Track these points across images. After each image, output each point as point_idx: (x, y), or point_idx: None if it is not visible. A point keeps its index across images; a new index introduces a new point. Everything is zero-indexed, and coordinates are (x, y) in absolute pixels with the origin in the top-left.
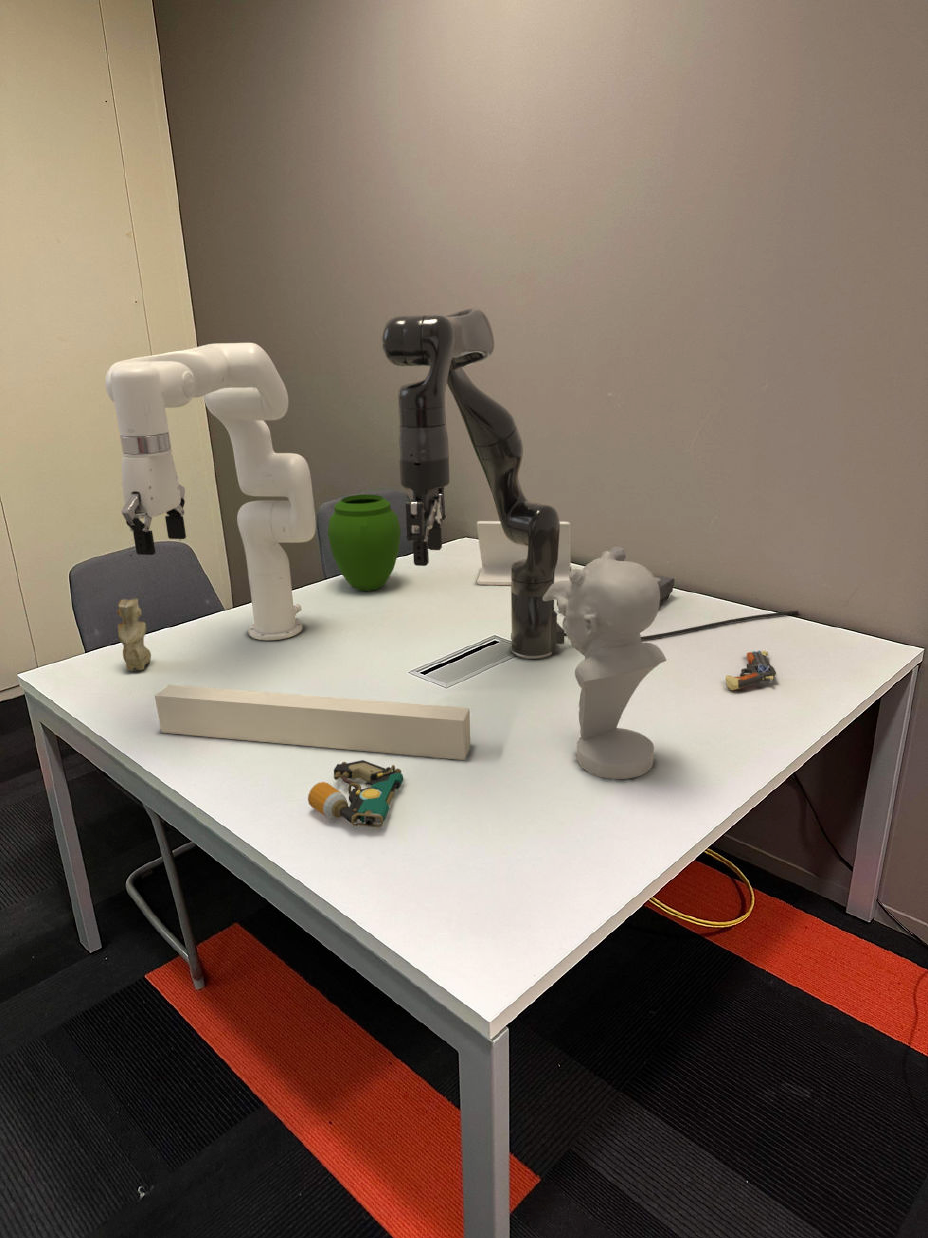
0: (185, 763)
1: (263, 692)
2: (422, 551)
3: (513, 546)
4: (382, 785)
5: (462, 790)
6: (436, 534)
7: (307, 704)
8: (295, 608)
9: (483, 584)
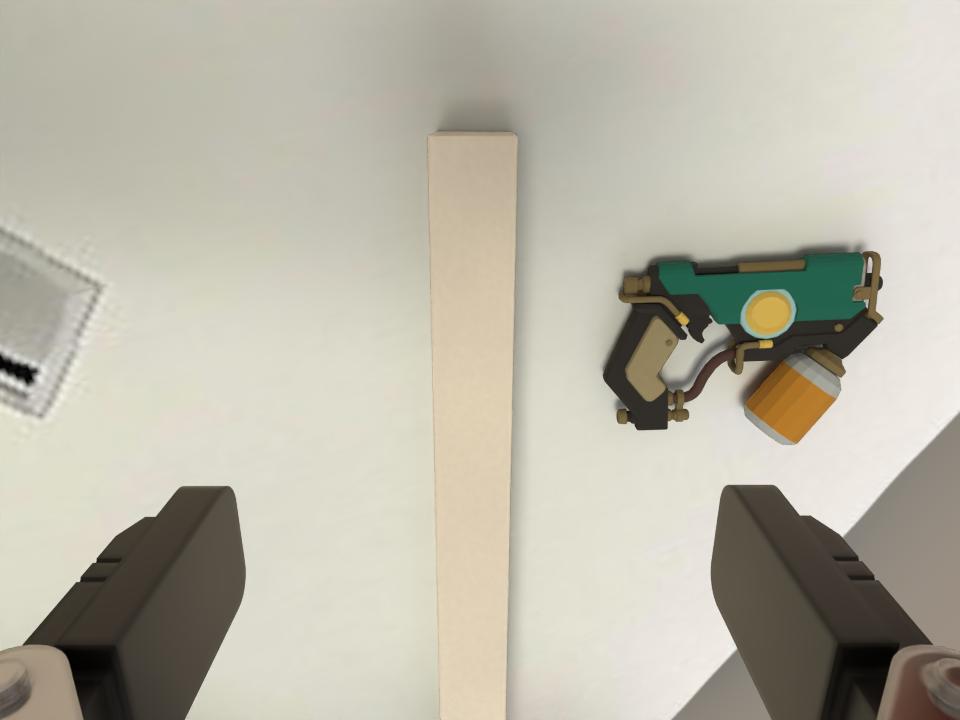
0: (608, 709)
1: (443, 701)
2: (892, 606)
3: None
4: (731, 297)
5: (661, 103)
6: (166, 626)
7: (488, 586)
8: None
9: None
